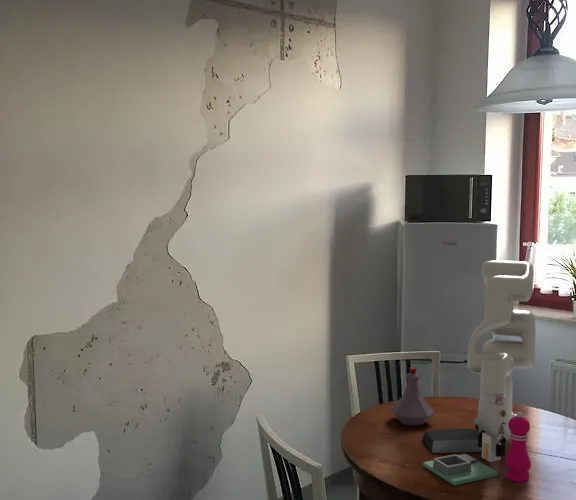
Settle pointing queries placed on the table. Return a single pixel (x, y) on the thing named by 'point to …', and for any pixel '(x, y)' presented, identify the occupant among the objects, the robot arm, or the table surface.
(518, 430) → the pepper mill
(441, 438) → the external hard drive
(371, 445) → the table surface
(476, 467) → the board
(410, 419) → the flask
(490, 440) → the plug
